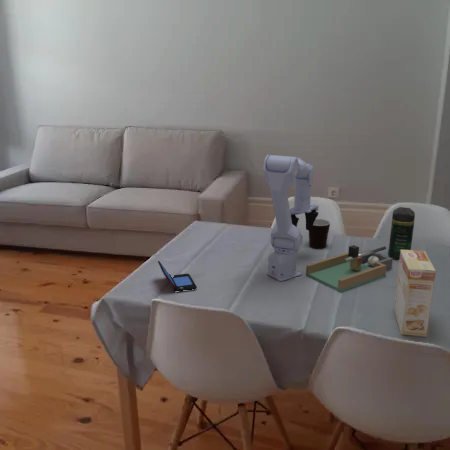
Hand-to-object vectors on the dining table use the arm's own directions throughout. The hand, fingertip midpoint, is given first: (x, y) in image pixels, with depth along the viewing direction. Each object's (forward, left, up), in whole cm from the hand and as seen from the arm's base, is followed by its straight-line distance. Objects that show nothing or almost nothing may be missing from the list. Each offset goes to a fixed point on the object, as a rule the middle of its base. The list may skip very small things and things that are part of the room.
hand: (301, 232), depth 190 cm
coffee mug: (+16, +6, -11) cm, 20 cm away
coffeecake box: (-8, -54, -11) cm, 56 cm away
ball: (+16, -21, -8) cm, 28 cm away
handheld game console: (-49, +6, -11) cm, 51 cm away
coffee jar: (+32, -20, -11) cm, 39 cm away
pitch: (+5, -21, -10) cm, 24 cm away
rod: (+12, -21, -9) cm, 26 cm away
